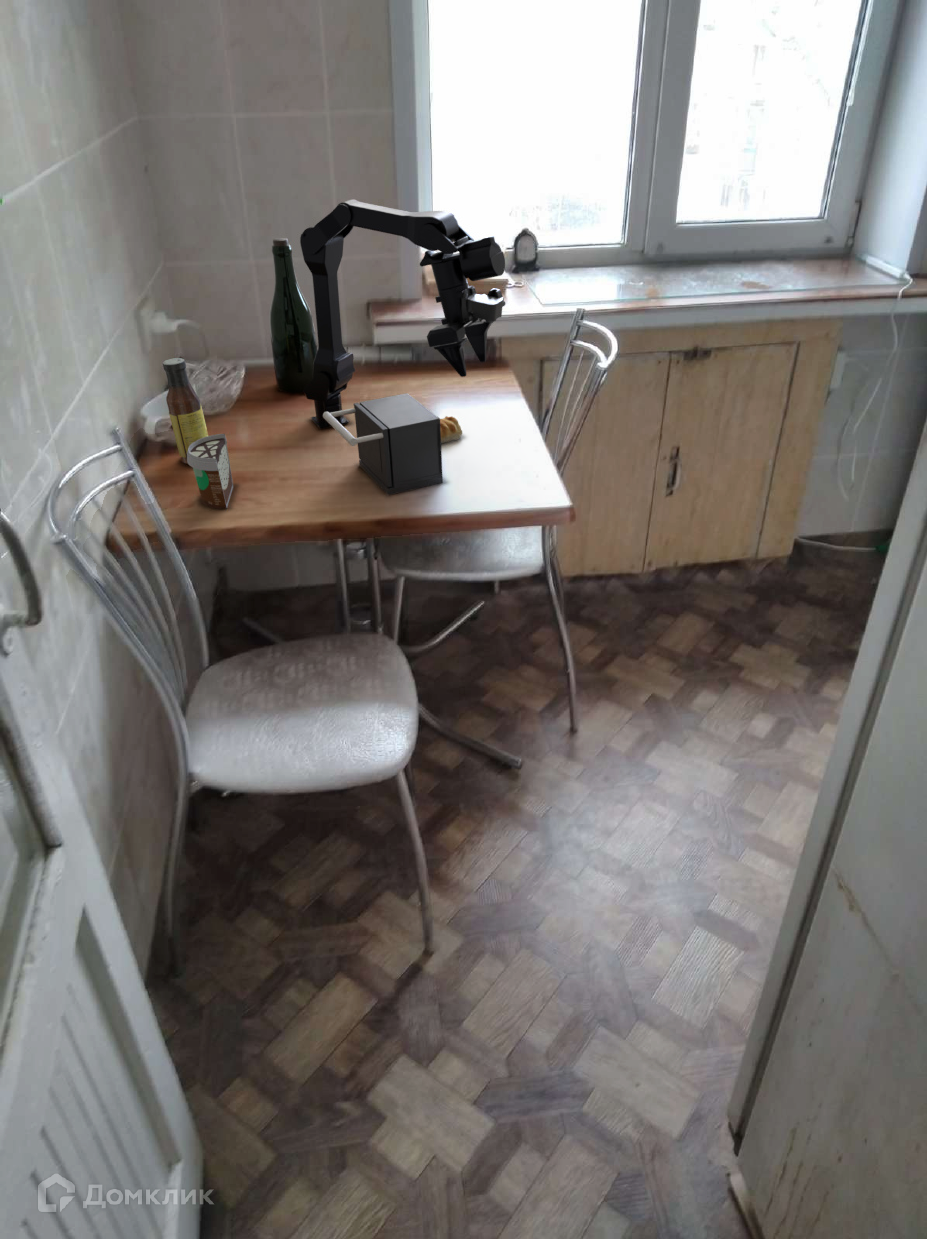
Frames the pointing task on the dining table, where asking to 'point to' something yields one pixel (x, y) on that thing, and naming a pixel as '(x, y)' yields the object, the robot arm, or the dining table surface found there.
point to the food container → (212, 470)
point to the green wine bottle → (290, 325)
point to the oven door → (366, 440)
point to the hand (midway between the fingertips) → (473, 368)
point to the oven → (408, 442)
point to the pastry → (449, 429)
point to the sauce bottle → (183, 407)
